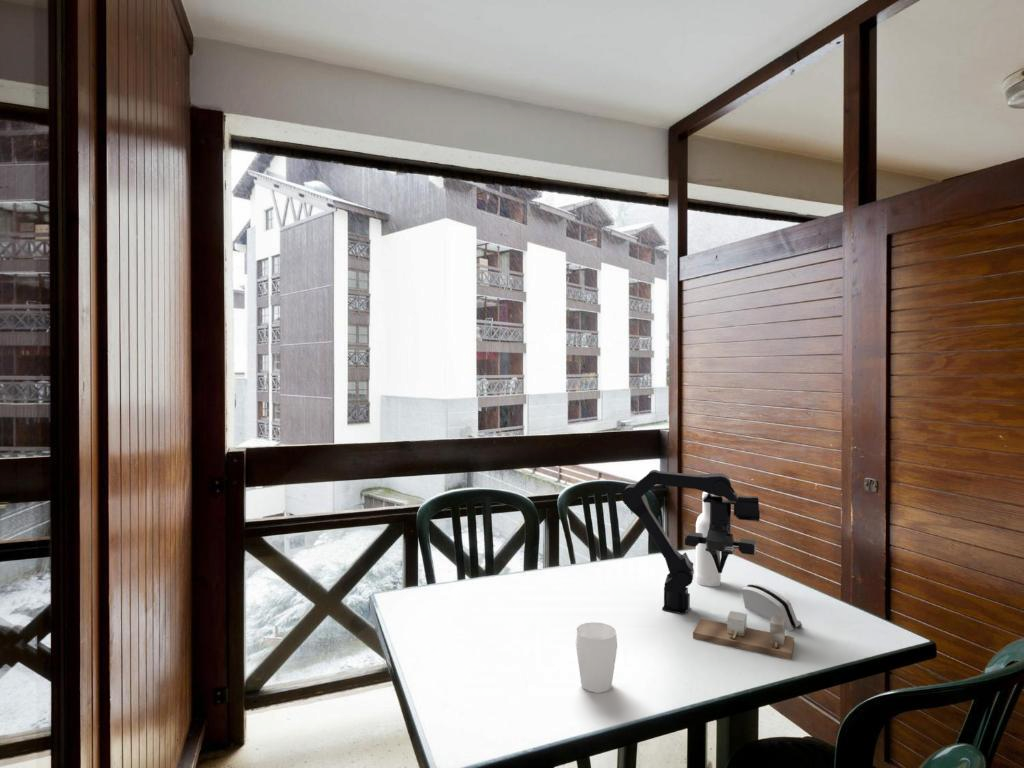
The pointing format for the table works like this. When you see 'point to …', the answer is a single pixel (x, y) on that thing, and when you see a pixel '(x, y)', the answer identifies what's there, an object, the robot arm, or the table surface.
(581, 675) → the cup
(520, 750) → the table surface
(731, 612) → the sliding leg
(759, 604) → the light grey curved piece
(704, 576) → the bottle
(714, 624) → the hole board
